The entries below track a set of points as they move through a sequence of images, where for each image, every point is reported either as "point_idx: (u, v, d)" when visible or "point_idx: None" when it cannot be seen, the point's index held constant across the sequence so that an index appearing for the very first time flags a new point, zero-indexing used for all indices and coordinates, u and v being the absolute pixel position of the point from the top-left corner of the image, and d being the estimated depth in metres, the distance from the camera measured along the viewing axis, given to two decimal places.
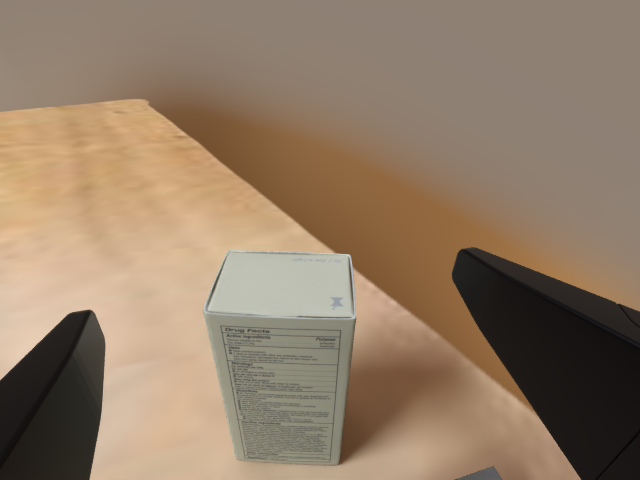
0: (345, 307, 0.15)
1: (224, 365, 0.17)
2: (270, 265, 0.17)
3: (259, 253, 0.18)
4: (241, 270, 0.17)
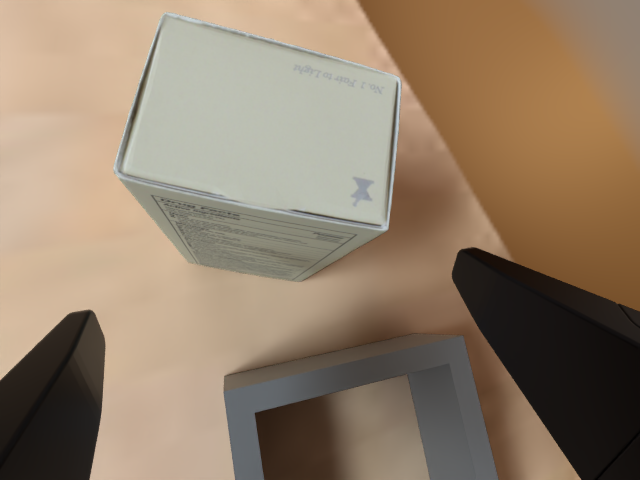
0: (375, 204, 0.09)
1: (164, 221, 0.11)
2: (250, 75, 0.09)
3: (228, 34, 0.09)
4: (191, 76, 0.08)
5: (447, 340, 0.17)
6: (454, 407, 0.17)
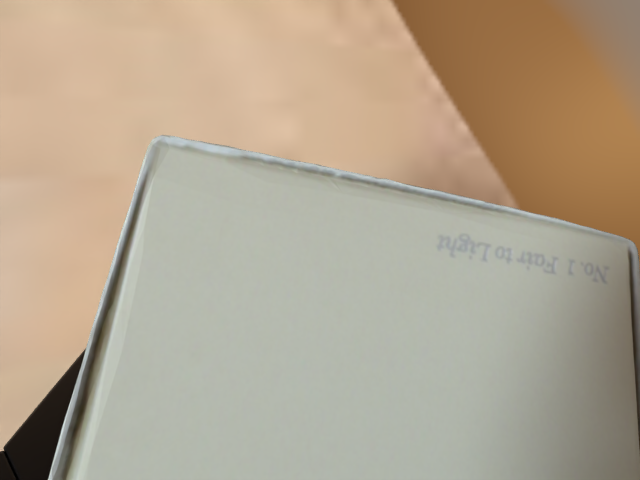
0: None
1: None
2: (351, 275, 0.04)
3: (298, 175, 0.04)
4: (219, 297, 0.04)
5: None
6: None
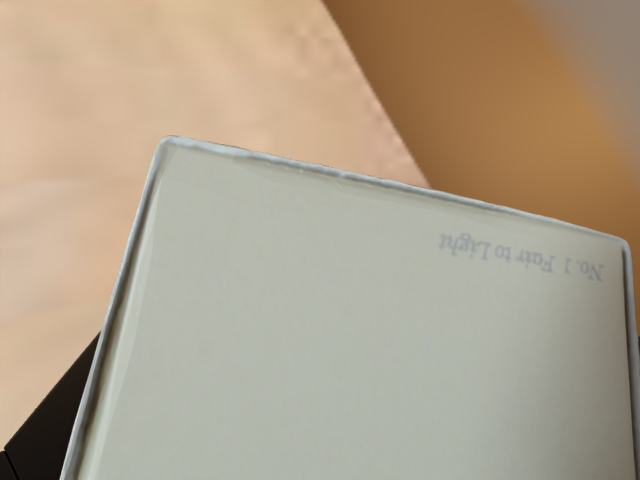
0: None
1: None
2: (357, 274, 0.04)
3: (304, 175, 0.04)
4: (228, 295, 0.04)
5: None
6: None
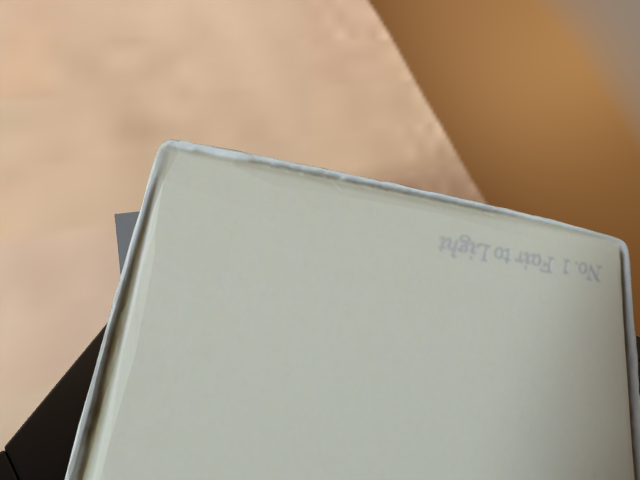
0: None
1: None
2: (357, 276, 0.04)
3: (304, 179, 0.04)
4: (230, 298, 0.04)
5: None
6: None
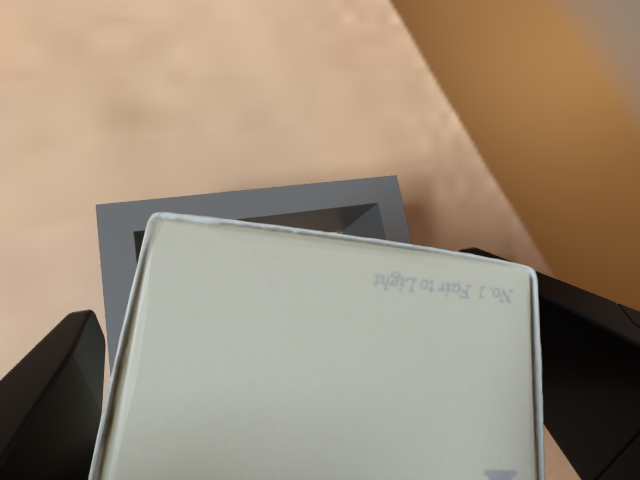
0: None
1: None
2: (306, 311, 0.05)
3: (264, 235, 0.05)
4: (206, 333, 0.05)
5: (377, 178, 0.14)
6: None
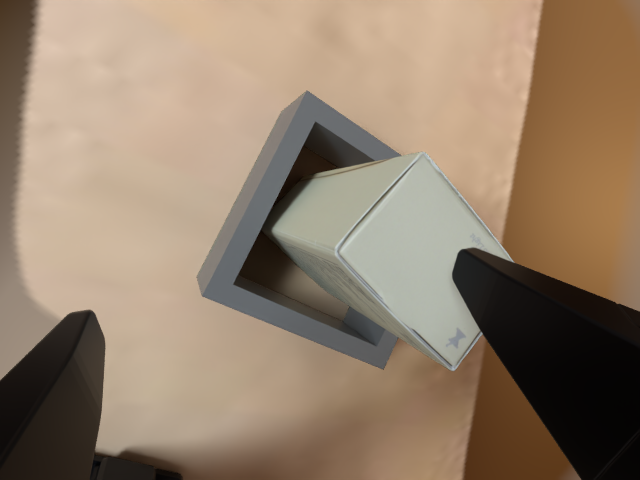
0: (457, 351, 0.12)
1: (308, 250, 0.14)
2: (445, 227, 0.12)
3: (449, 188, 0.12)
4: (412, 208, 0.11)
5: None
6: None
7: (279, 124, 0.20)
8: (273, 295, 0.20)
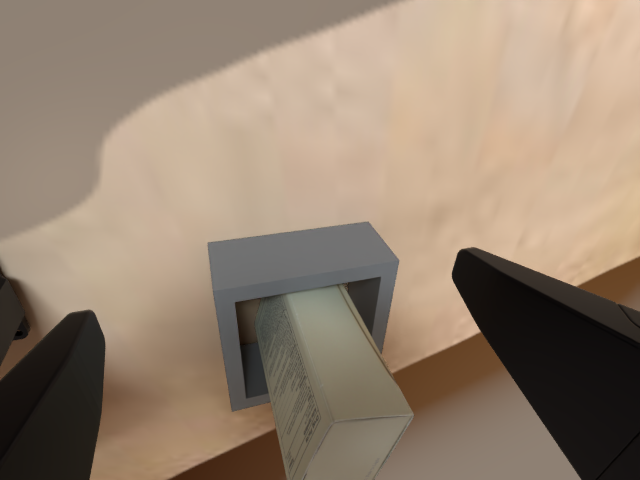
0: None
1: (306, 366, 0.18)
2: (376, 447, 0.17)
3: (399, 434, 0.17)
4: (378, 431, 0.17)
5: None
6: None
7: (361, 236, 0.24)
8: None
